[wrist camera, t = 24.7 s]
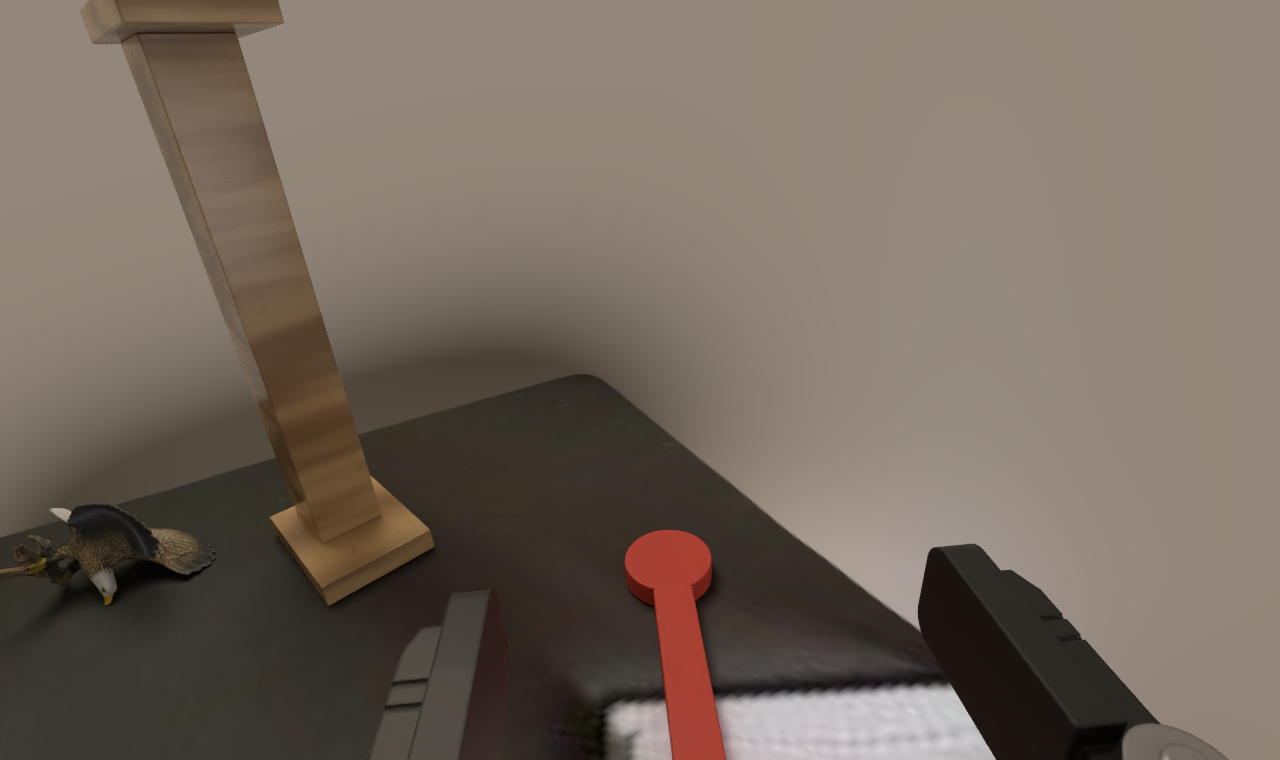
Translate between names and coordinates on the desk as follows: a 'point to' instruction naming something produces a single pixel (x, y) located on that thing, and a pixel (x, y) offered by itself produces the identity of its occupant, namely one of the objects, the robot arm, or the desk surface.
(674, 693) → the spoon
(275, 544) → the desk surface
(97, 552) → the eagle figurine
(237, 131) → the stand
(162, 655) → the desk surface
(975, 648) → the robot arm
